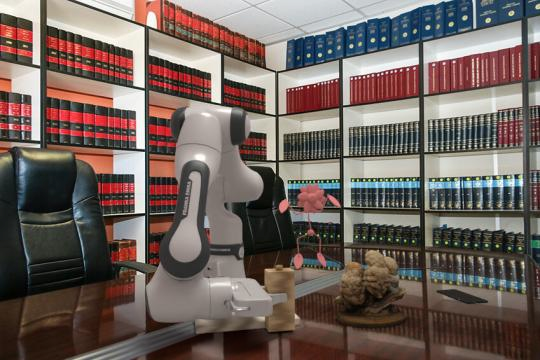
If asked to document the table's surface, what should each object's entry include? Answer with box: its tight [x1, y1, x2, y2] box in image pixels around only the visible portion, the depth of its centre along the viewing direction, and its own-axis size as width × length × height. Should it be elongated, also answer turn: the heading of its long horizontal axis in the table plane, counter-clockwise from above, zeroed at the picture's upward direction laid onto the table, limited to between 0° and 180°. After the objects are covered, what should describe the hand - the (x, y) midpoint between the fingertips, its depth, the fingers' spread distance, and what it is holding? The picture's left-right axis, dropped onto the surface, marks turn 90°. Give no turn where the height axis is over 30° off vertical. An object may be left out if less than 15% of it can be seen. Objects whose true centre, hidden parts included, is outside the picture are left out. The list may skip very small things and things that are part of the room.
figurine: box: [278, 183, 342, 274], centre depth 165 cm, size 15×26×35 cm, turn 105°
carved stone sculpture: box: [334, 249, 407, 329], centre depth 100 cm, size 18×12×17 cm, turn 103°
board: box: [194, 312, 301, 335], centre depth 98 cm, size 24×9×2 cm, turn 103°
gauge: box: [264, 264, 296, 333], centre depth 96 cm, size 6×12×14 cm, turn 13°
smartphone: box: [436, 288, 489, 305], centre depth 120 cm, size 7×1×15 cm
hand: (283, 294), depth 93 cm, fingers closed on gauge, 4 cm apart
